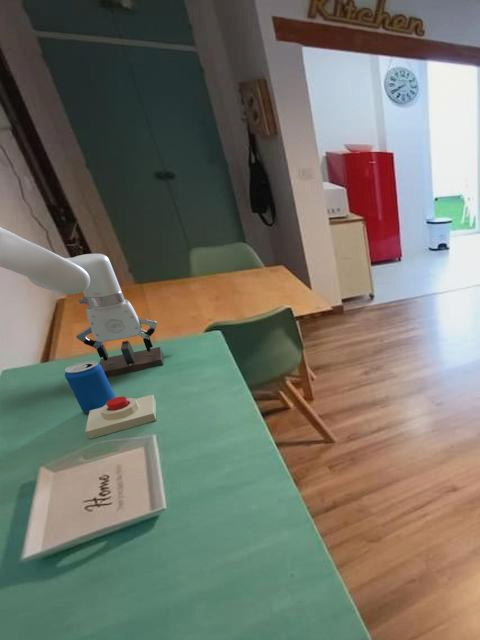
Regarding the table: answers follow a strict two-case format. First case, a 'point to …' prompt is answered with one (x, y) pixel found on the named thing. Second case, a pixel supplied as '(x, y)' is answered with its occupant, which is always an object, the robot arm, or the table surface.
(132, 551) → the table surface
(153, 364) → the panel
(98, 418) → the housing
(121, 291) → the robot arm
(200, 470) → the table surface
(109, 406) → the button
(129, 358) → the knob
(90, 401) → the beverage can
